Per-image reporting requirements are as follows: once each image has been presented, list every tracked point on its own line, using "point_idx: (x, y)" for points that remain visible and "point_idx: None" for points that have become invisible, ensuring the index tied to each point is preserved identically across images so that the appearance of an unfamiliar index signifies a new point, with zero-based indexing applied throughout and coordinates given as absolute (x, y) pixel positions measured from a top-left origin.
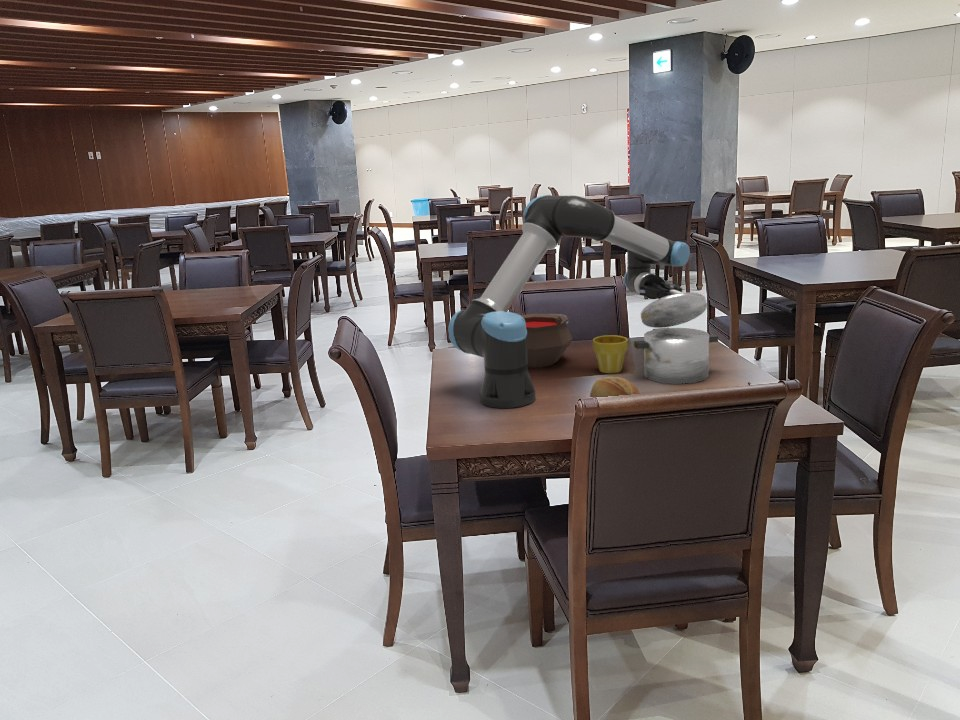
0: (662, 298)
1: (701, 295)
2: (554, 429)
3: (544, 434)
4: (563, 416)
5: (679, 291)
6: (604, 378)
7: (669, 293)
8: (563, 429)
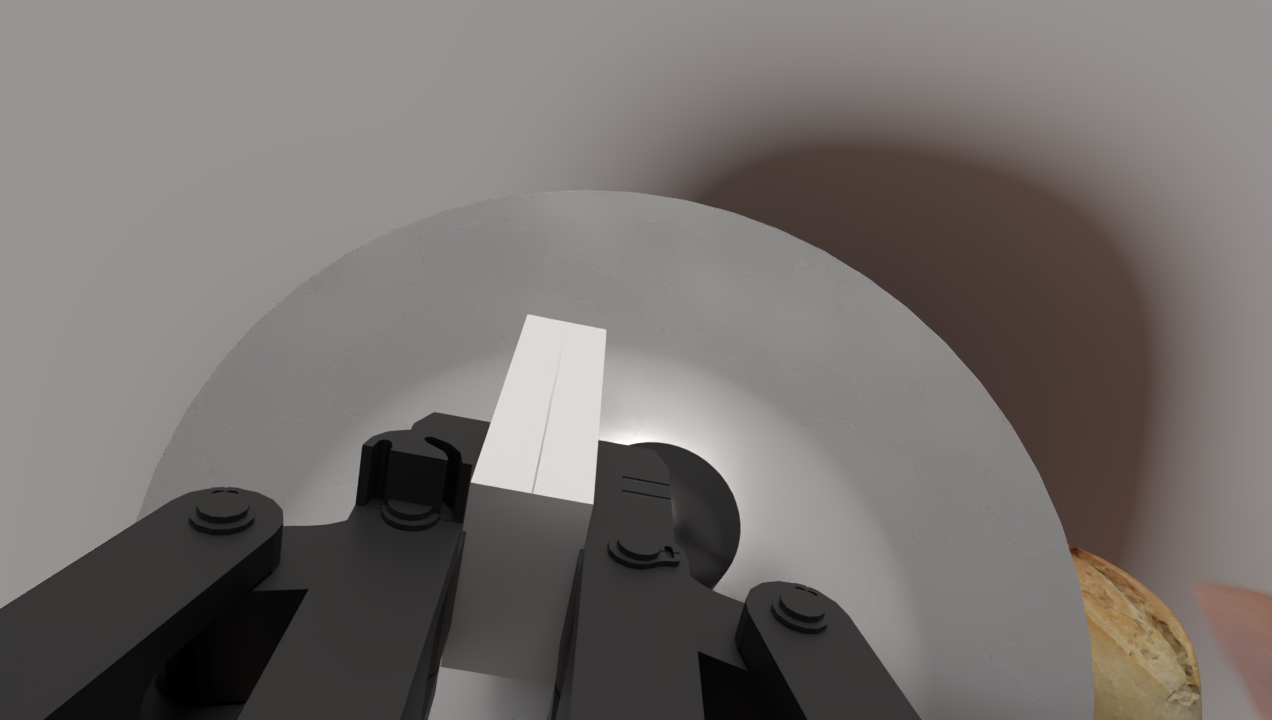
0: (901, 313)
1: (433, 223)
2: (1242, 629)
3: (1262, 614)
4: (1258, 706)
5: (508, 372)
6: (1147, 599)
7: (654, 484)
8: (1208, 618)
